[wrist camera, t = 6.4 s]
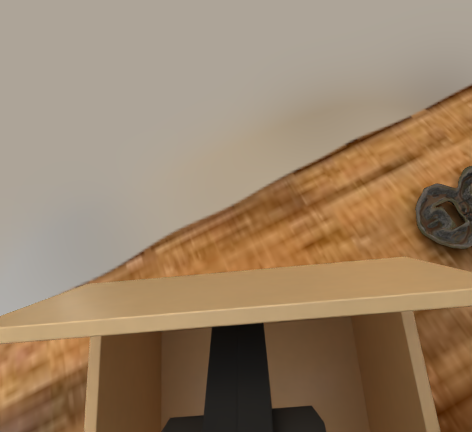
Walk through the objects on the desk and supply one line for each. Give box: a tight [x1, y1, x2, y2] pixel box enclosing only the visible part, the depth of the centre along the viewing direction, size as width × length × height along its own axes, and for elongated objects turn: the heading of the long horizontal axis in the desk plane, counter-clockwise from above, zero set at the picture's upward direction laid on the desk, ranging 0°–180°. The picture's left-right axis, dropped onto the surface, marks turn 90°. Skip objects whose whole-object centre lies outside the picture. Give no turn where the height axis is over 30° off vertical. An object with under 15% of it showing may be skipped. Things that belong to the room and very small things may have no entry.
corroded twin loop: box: [415, 166, 472, 249], centre depth 28 cm, size 5×8×1 cm, turn 113°
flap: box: [0, 257, 472, 344], centre depth 13 cm, size 7×13×1 cm
